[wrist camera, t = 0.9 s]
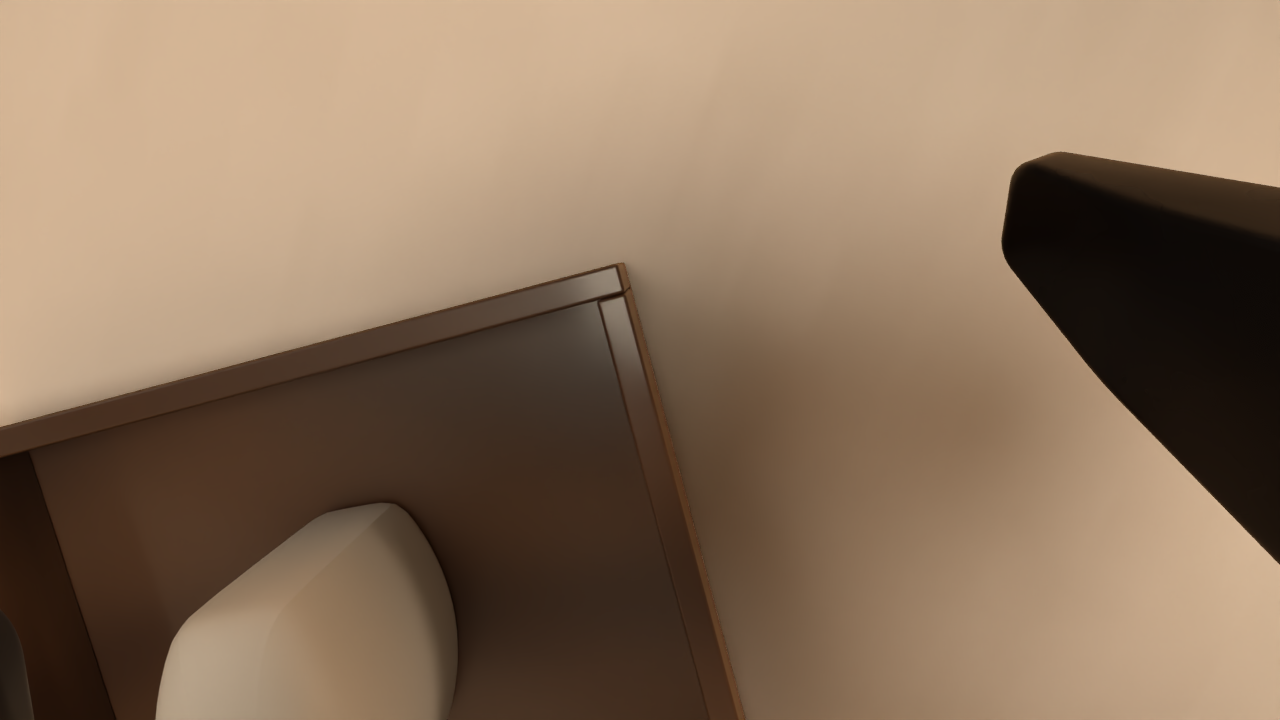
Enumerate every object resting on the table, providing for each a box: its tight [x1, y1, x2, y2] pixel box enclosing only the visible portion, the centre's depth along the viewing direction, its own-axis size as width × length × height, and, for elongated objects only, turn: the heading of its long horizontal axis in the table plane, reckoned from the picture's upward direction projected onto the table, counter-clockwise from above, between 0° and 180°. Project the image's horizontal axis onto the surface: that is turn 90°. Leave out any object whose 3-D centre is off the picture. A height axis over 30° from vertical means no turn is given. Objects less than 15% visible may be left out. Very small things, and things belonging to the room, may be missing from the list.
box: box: [0, 263, 745, 720], centre depth 23 cm, size 13×15×4 cm
